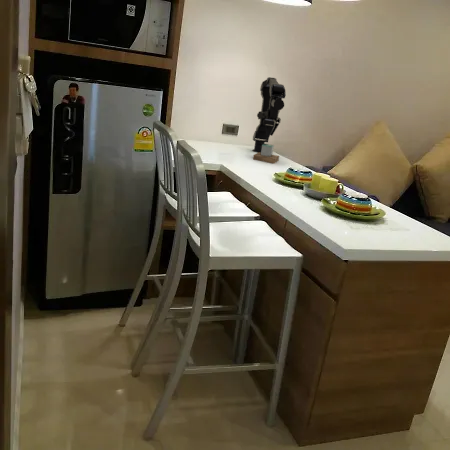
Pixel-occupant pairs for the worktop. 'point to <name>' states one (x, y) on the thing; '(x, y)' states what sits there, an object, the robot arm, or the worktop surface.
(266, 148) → the block
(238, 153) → the worktop surface
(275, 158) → the walnut box
